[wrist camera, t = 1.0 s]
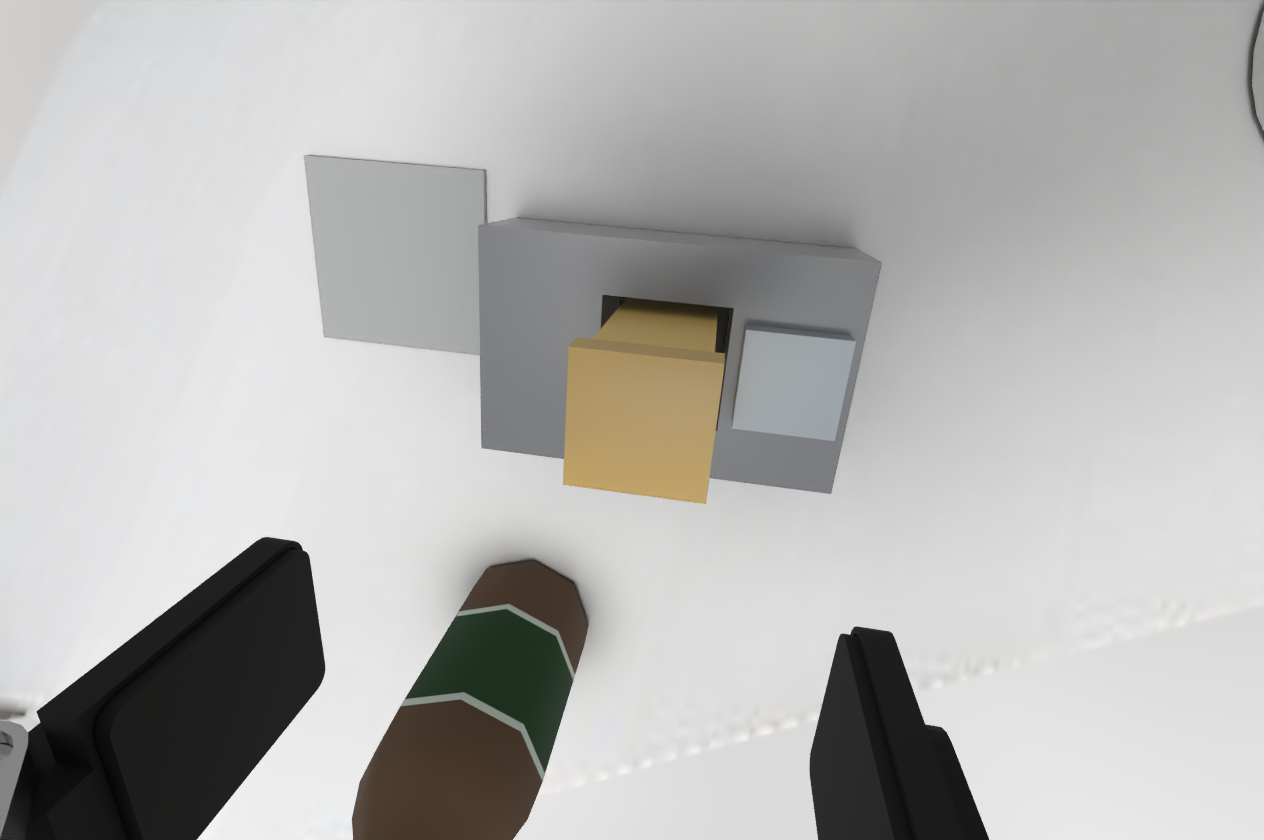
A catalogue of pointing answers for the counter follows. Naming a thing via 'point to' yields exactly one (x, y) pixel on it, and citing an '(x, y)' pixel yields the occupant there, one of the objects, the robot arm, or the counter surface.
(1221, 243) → the counter surface
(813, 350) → the grey block with hole
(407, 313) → the mat
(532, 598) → the beer bottle
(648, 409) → the plug
